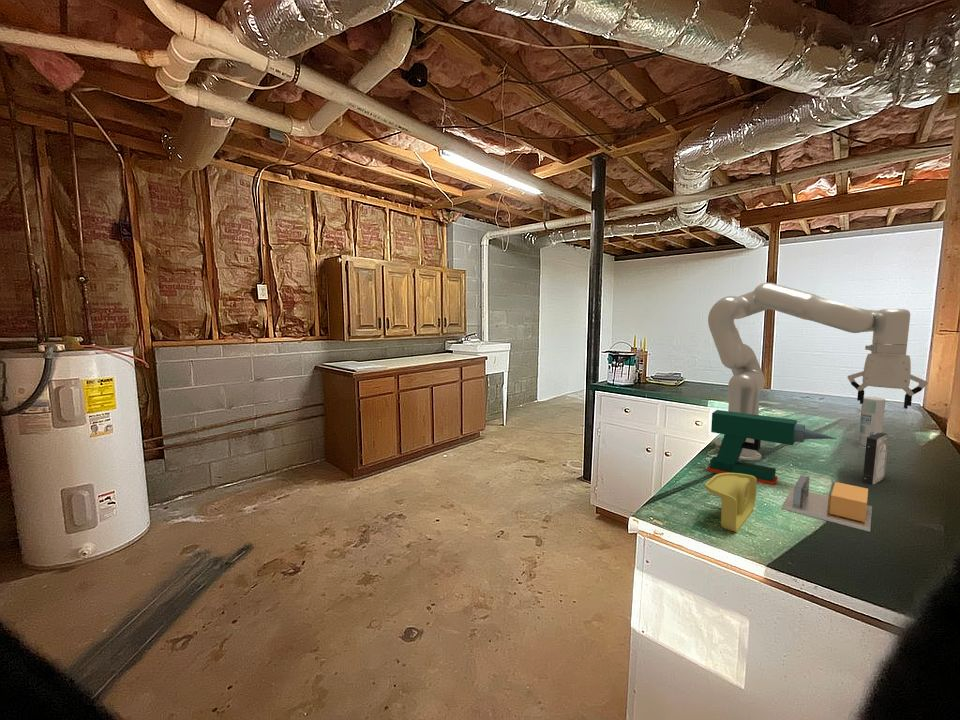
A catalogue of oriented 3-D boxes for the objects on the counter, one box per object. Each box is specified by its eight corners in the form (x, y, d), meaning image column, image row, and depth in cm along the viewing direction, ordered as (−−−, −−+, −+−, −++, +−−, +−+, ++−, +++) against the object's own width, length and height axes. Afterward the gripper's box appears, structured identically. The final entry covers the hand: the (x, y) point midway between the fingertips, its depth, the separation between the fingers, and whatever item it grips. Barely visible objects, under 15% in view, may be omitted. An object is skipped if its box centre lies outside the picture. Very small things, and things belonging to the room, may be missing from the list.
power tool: (833, 491, 120) (839, 425, 118) (832, 499, 115) (838, 429, 113) (712, 465, 141) (715, 409, 140) (707, 471, 136) (710, 412, 134)
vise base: (781, 509, 108) (783, 487, 108) (791, 491, 119) (793, 471, 119) (870, 532, 96) (872, 507, 96) (871, 510, 108) (873, 487, 107)
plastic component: (734, 535, 95) (736, 494, 94) (700, 524, 100) (702, 485, 99) (755, 508, 109) (757, 472, 108) (724, 500, 114) (725, 465, 113)
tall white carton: (885, 450, 157) (890, 399, 155) (868, 450, 157) (873, 399, 155) (869, 445, 164) (874, 396, 162) (853, 445, 164) (857, 396, 162)
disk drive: (874, 486, 123) (878, 438, 122) (861, 483, 126) (865, 436, 124) (885, 479, 129) (889, 433, 127) (873, 476, 131) (877, 431, 130)
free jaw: (827, 512, 103) (828, 494, 103) (831, 498, 112) (833, 481, 111) (865, 522, 98) (866, 503, 98) (866, 506, 107) (868, 488, 106)
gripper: (849, 349, 126) (844, 403, 128) (932, 352, 114) (925, 412, 116) (850, 348, 132) (846, 399, 133) (930, 351, 120) (923, 408, 121)
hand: (882, 405), depth 125 cm, fingers open, 9 cm apart
